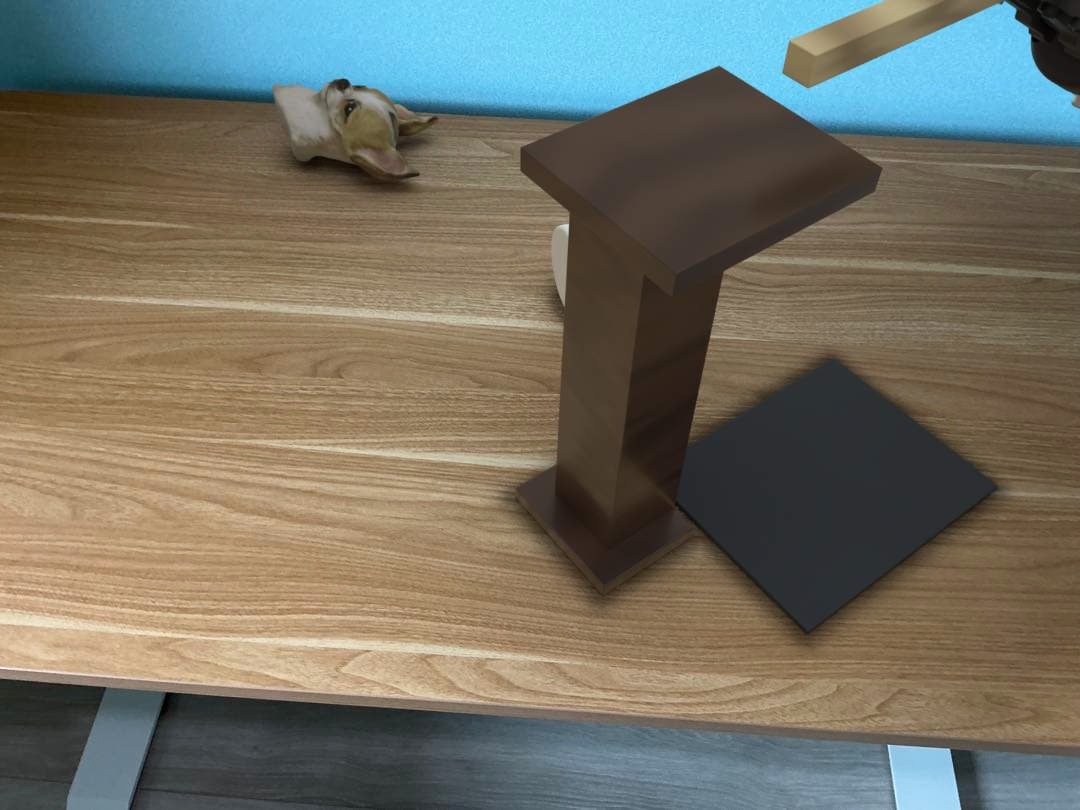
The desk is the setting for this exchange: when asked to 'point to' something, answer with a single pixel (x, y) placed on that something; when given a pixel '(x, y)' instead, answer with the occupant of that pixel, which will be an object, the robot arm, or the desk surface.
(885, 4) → the wooden stick
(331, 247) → the desk surface
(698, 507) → the mat
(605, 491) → the stand
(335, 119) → the ceramic sculpture
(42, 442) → the desk surface
